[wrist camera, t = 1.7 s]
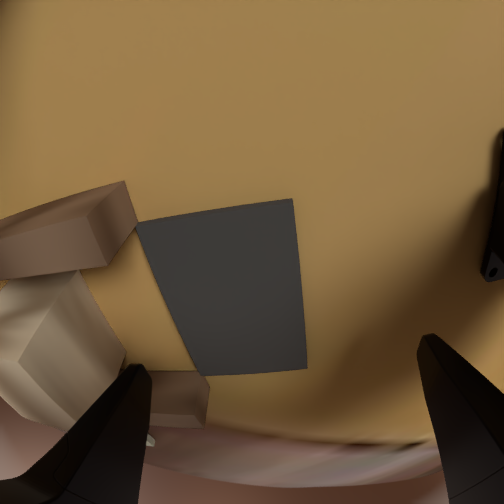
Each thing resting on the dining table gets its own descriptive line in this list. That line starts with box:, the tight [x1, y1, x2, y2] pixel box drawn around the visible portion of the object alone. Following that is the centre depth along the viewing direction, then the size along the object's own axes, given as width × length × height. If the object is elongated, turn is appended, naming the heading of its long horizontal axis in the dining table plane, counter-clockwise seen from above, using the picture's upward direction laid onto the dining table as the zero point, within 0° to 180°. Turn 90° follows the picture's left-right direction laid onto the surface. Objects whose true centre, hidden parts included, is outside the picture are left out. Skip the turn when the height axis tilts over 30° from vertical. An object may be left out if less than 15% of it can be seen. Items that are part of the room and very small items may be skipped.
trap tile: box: [135, 198, 308, 376], centre depth 11 cm, size 5×8×1 cm, turn 10°
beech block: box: [0, 270, 126, 431], centre depth 10 cm, size 5×5×5 cm
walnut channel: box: [0, 181, 210, 429], centre depth 11 cm, size 10×11×2 cm
